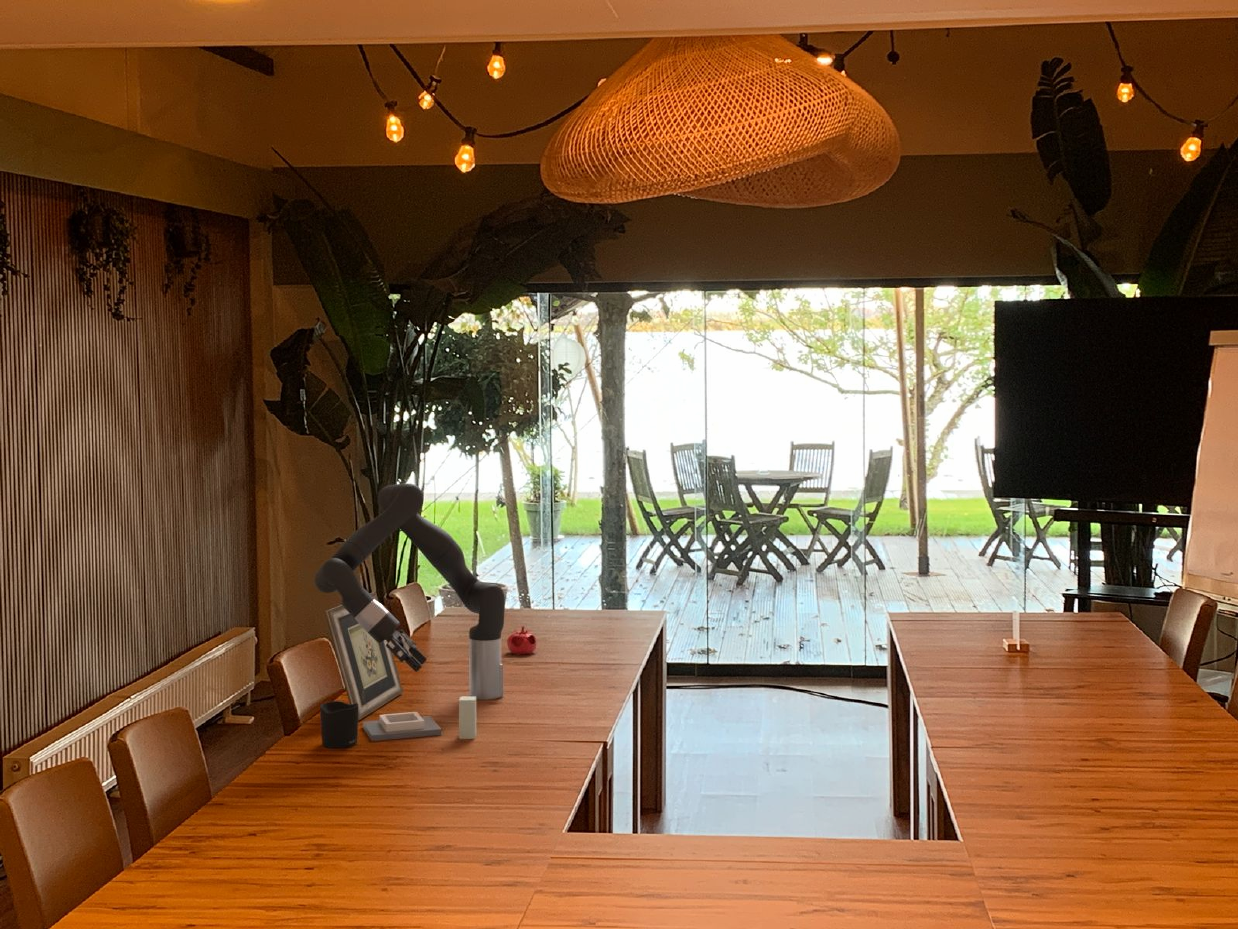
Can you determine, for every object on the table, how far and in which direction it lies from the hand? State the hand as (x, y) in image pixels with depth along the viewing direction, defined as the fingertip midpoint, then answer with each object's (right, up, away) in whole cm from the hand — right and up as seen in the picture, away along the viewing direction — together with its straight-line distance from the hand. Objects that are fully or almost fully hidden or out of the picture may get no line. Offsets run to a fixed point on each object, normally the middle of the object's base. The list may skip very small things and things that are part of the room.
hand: (422, 665), depth 324 cm
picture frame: (-21, -17, +32) cm, 41 cm away
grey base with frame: (-6, -18, +6) cm, 20 cm away
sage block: (+12, -18, +1) cm, 22 cm away
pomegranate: (+18, -13, +105) cm, 107 cm away
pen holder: (-20, -19, -6) cm, 28 cm away
